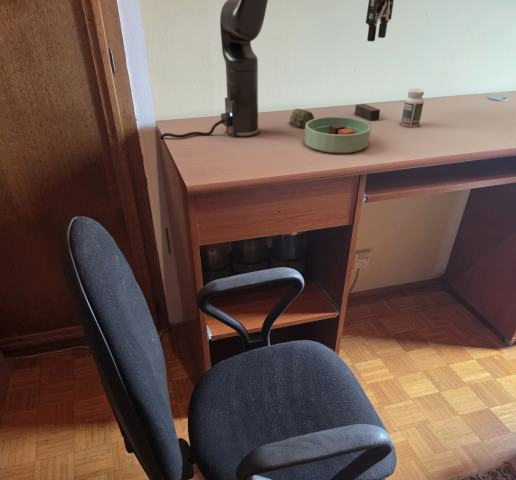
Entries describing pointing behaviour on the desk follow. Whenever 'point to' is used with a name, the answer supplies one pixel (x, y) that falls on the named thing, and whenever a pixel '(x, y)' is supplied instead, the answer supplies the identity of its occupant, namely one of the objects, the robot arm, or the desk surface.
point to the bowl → (337, 143)
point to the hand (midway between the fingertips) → (376, 39)
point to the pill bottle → (413, 108)
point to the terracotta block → (346, 131)
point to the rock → (300, 117)
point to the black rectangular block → (367, 112)
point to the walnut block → (335, 128)
